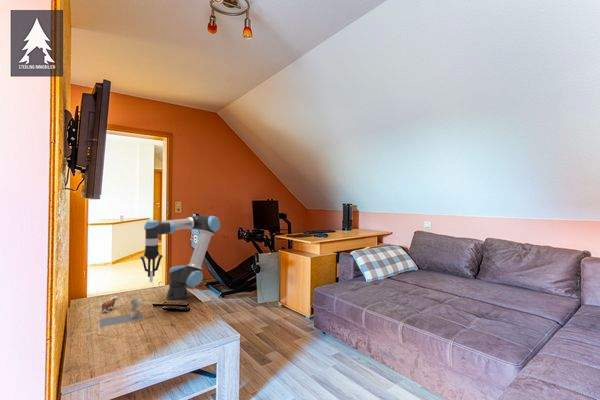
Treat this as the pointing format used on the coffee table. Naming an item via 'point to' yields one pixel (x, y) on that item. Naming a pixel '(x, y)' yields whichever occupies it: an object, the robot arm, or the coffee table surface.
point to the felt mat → (118, 320)
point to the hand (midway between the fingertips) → (151, 281)
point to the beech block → (134, 308)
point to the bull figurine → (109, 304)
